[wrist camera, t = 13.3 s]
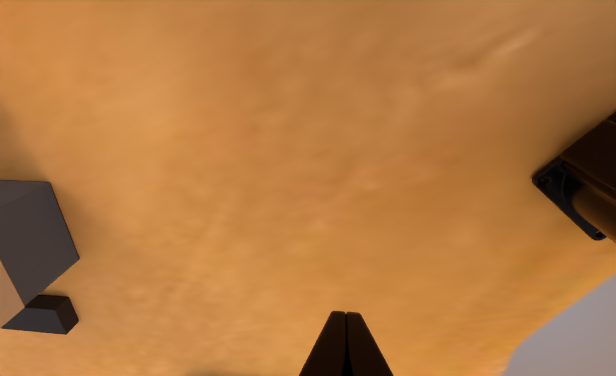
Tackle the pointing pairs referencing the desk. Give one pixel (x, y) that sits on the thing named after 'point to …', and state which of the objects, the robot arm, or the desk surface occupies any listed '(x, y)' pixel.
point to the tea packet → (30, 244)
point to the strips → (45, 316)
